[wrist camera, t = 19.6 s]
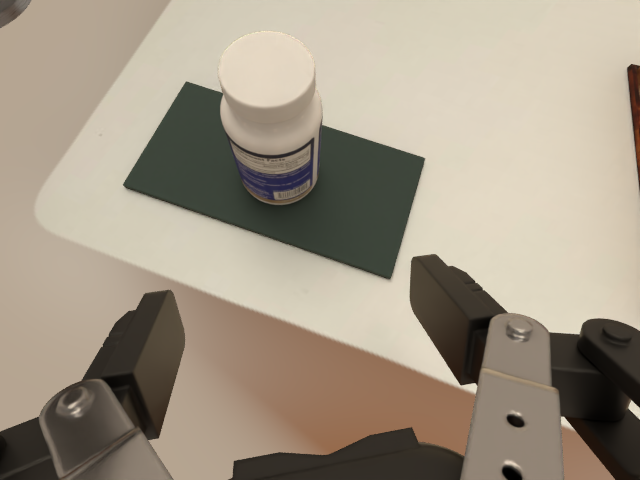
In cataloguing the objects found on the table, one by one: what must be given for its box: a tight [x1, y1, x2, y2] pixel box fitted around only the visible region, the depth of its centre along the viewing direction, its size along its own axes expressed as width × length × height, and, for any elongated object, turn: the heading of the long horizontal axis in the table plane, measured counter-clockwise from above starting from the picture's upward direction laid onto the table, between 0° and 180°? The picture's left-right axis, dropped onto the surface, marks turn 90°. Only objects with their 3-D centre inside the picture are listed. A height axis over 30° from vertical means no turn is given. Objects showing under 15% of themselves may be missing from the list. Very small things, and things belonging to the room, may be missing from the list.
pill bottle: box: [218, 31, 323, 205], centre depth 22 cm, size 6×6×10 cm
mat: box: [123, 82, 425, 279], centre depth 27 cm, size 20×10×1 cm, turn 71°
